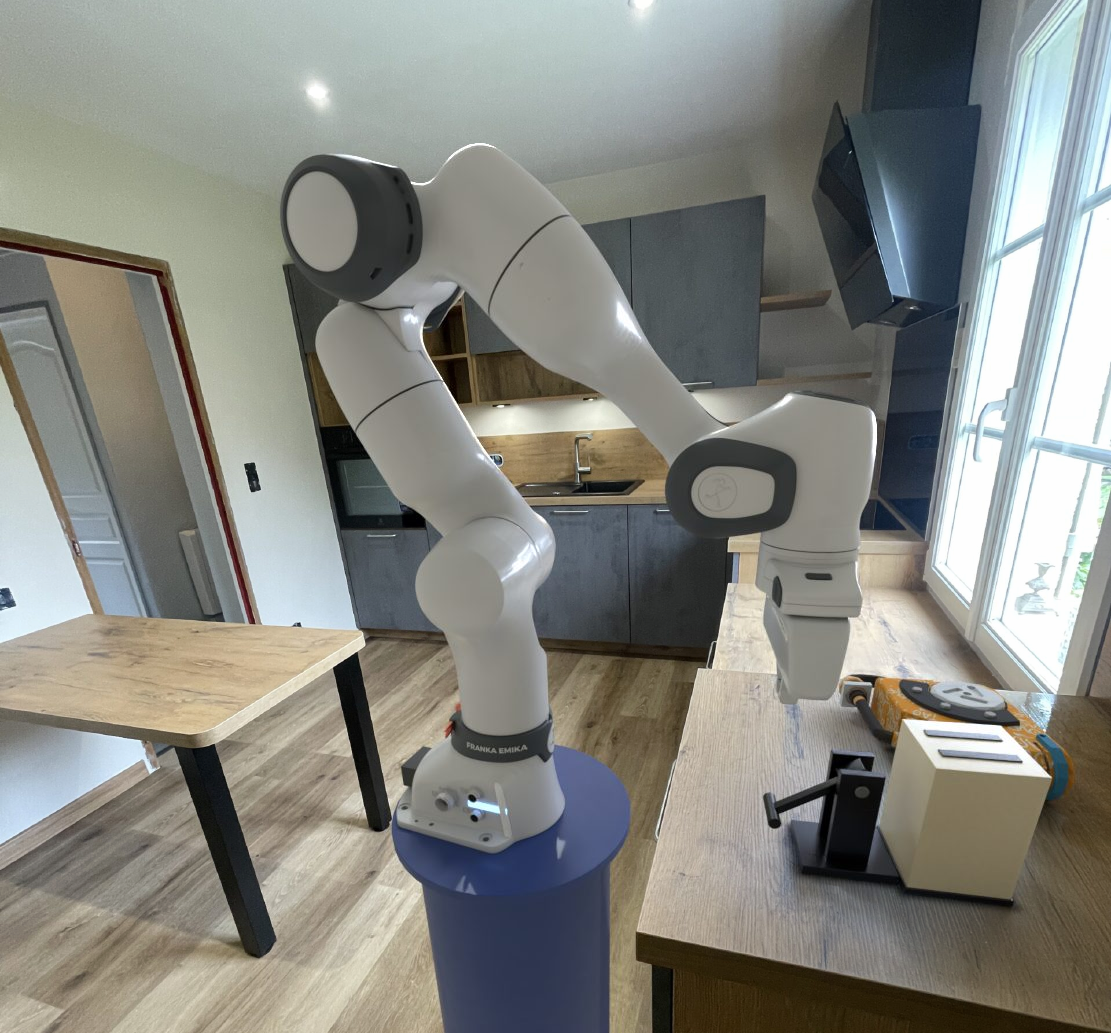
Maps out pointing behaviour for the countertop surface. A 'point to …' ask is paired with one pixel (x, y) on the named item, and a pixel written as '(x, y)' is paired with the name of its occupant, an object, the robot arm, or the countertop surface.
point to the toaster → (961, 810)
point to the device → (952, 716)
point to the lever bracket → (847, 826)
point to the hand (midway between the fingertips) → (785, 698)
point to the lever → (803, 795)
